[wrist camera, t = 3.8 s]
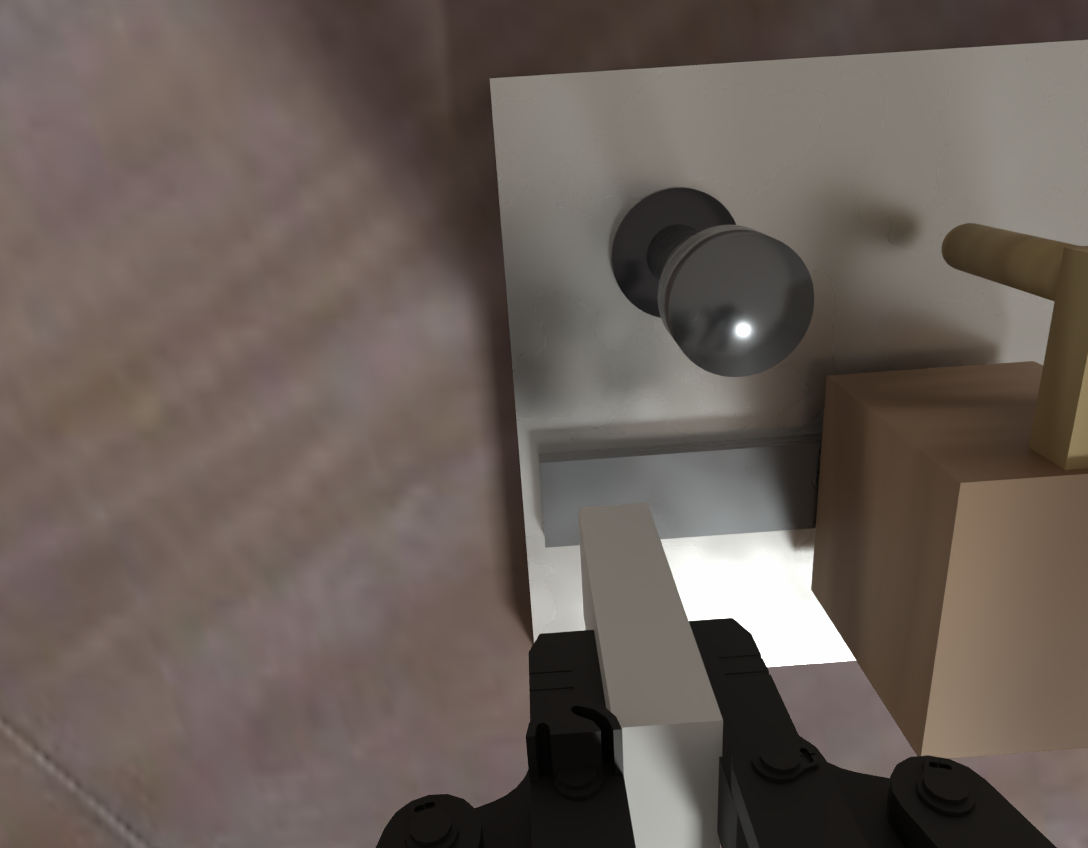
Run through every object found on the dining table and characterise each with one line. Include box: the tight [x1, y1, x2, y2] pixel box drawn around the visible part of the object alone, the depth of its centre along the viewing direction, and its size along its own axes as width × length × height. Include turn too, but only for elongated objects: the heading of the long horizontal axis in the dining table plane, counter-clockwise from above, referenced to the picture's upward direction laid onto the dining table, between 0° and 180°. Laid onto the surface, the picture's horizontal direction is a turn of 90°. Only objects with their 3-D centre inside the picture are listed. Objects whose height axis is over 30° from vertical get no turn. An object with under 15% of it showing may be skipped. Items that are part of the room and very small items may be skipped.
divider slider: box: [811, 223, 1088, 759], centre depth 16 cm, size 5×10×6 cm, turn 3°
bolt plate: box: [490, 40, 1088, 667], centre depth 18 cm, size 26×16×7 cm, turn 93°
